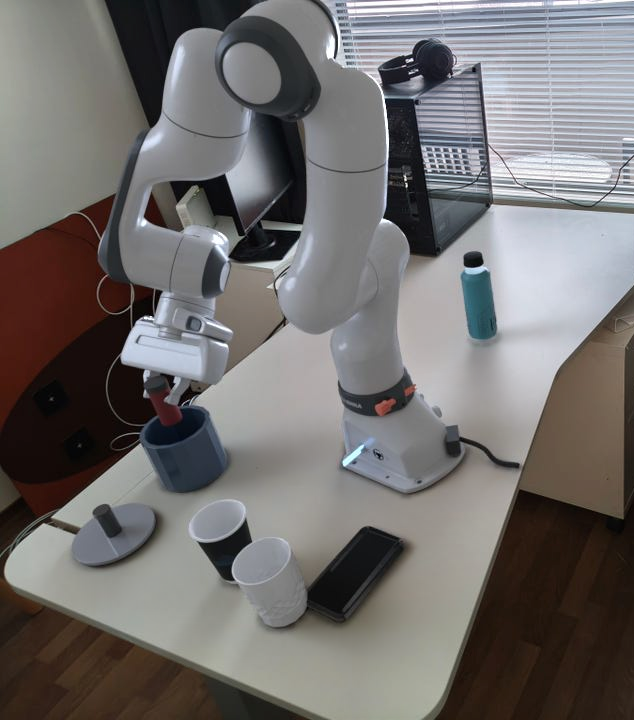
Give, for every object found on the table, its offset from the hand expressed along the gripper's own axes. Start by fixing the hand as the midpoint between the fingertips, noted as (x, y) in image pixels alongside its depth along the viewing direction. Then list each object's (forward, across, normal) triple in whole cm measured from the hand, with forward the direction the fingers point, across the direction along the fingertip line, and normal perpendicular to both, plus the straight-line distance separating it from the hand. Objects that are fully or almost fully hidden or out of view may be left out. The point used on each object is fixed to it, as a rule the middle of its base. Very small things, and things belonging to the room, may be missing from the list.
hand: (160, 401), depth 115 cm
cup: (+11, 0, +12) cm, 16 cm away
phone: (+18, +41, +4) cm, 45 cm away
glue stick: (+3, 0, +4) cm, 4 cm away
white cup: (+23, +35, -1) cm, 42 cm away
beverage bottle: (-28, +33, +50) cm, 66 cm away
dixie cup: (+22, +24, +1) cm, 32 cm away
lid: (+22, 0, -1) cm, 22 cm away
